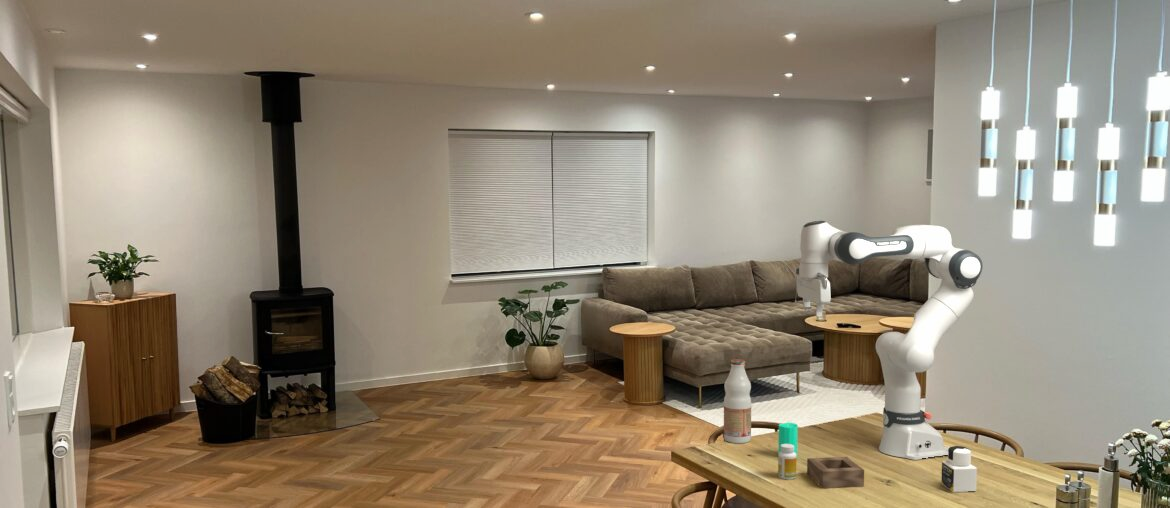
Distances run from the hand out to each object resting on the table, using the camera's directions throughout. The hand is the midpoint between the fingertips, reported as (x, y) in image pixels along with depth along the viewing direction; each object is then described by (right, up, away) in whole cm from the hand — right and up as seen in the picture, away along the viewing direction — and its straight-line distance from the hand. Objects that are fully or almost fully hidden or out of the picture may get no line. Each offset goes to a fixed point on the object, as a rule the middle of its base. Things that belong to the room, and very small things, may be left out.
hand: (813, 314), depth 279 cm
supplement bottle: (-12, -49, -16) cm, 52 cm away
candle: (-7, -47, +4) cm, 48 cm away
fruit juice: (-21, -46, +22) cm, 55 cm away
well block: (+1, -48, -19) cm, 52 cm away
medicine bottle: (+35, -49, -26) cm, 66 cm away
